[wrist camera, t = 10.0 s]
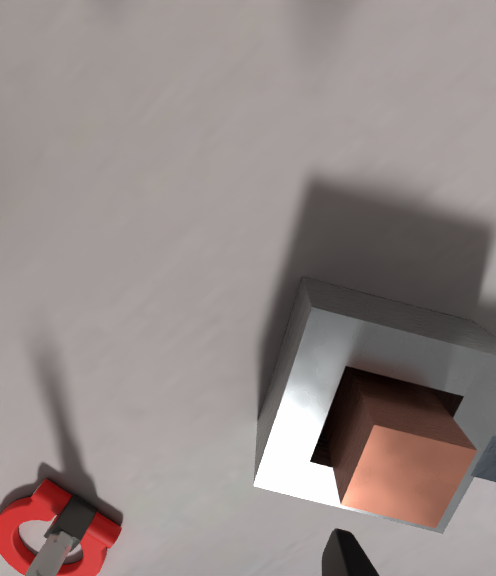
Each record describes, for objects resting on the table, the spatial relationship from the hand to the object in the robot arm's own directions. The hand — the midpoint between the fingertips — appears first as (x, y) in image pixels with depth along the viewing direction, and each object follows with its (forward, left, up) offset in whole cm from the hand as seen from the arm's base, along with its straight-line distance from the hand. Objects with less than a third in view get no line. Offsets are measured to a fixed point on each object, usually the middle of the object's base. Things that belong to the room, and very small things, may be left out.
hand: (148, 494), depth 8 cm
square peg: (+9, -2, -13) cm, 16 cm away
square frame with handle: (+14, -2, -13) cm, 19 cm away
